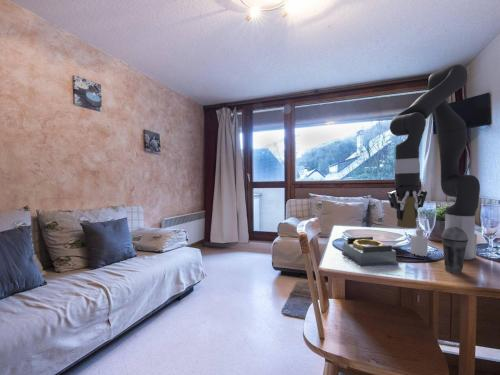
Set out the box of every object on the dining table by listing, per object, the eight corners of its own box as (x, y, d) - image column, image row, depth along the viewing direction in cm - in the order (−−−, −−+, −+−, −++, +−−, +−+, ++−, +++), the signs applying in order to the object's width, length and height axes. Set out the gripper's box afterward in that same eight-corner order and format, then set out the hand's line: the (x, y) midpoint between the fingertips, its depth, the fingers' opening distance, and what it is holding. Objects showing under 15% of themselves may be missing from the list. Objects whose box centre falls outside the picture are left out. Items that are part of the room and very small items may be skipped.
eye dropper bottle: (417, 252, 107) (418, 224, 106) (429, 256, 101) (430, 227, 101) (409, 252, 106) (409, 225, 106) (419, 257, 101) (420, 228, 100)
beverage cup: (472, 273, 84) (474, 215, 83) (457, 276, 82) (459, 217, 81) (449, 265, 91) (451, 212, 90) (435, 268, 89) (436, 213, 88)
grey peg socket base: (374, 251, 109) (374, 235, 109) (397, 264, 94) (398, 246, 94) (341, 253, 108) (341, 237, 107) (360, 266, 93) (360, 248, 92)
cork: (420, 228, 85) (420, 196, 84) (400, 228, 86) (401, 196, 85) (412, 224, 91) (412, 194, 90) (394, 224, 92) (394, 194, 91)
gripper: (417, 171, 92) (417, 217, 93) (381, 172, 90) (381, 219, 91) (434, 171, 84) (434, 220, 85) (395, 172, 83) (395, 223, 84)
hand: (406, 219), depth 88 cm, fingers closed on cork, 4 cm apart
